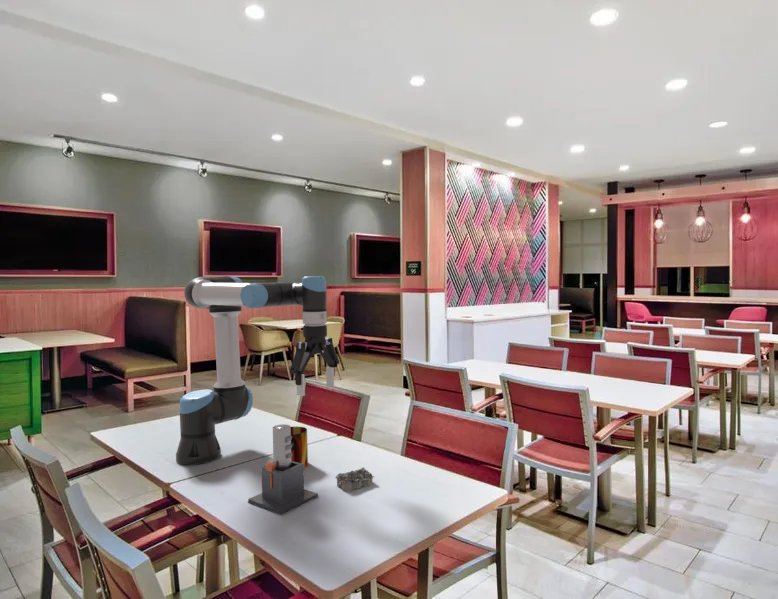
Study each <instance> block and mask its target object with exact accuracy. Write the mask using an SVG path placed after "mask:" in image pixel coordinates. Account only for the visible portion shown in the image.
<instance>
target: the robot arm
mask: <svg viewBox="0 0 778 599" xmlns="http://www.w3.org/2000/svg"><path fill="white" fill-rule="evenodd" d="M327 288H328V287H327V281H326V277H325V276H322V275H317V276H315V275H309V276H308V275H307V276H303V277H302V279H301V281H300V282H299V281H298V282H297V281H283V282H244V281H243V280H242V279H240V278H239V277H238V276H237V277H236V276H229V275H228V276H227V275H226V276H224V275H223V276H199V277H196V278H193V279H191V280H190V281H188V283H187V284H186V286H185V287H184V292H183V293H184V299H185V301H186V303H187V304H189V306H191V307H193V308H194V309H201V310H203V309H204V310H205V309H207V310H208V313H209V315H211V316H212V317H213V324H214V325H213V326H214V329H213V330H214V341H215V342H214V345H215V346H214V347H215V348H214V349H215V362H216V382H215V383H214V384H213V386H212V387H213V390H212V389H208V388H207V389H197V390H192V391H190V392H188V393H186V394H184V395H182V397H180V400H179V408H178V412H179V426H180V429H179V430H180V440H179V442H178V447H177V450H176V453H175V461H176V462H177V463H178V464H181V465H185V466H186V465H188V466H190V465H191V466H192V465H193V466H194V465H200V464H207V463H211V462H213V461H215V460H218V459H219V458H220V457H221V456H222V448H221V445H220V443H219V440H218V438H217V434H216V425H219V424H222V423H226V422H230V421H235V420H239V419H240V418H243V417H246V416H247V415H248V414H249V413H250V412H251V410H252V407H253V404H254V397H253V393H252V392H251V389H250V388H249V387H248V386H247V385H246V382H245V381H244V380H243V379H242V376H241V375H242V374H241V357H240V356H241V355H240V351H241V350H240V335H239V317H238V316H239V315H240V314H241V313H242V311H243V310H242V307H246V308H247V309H259V308H270V307H284V306H285V307H286V306H302V324H303V326H302V336H303V338H304V342H303V341H297V344H296V351H295V354H294V356H293V360H292V363H291V366H290V369H289V373H290V374H292V375H295V376H294V378H295V379H294V382H295V385H296V395H297V396H301V397H305V396H306V389H305V388H306V387H305V384H306V383H305V374H303V373H304V371H305V369H306V367H307V366H308V364H309V362H310V359H311V358H312V357H313V356H314V355H317V354H318V355H319V354H320V355H319V356H321V358H322V359H323V360H324V362H325V363H326V365H327V366H326V367H325V369H326V371H325V373H326V375H325V376H326V378H325V380H326V383H325V384H326V387H327V388H335V375H336V372H335V369H336V368H337V367H338V365H339V364H340V360H339V358H338V354H337V351H336V349H335V347H334V343H333V338H332V337H328V327H327V290H328V289H327Z"/></svg>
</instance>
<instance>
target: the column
mask: <svg viewBox="0 0 778 599" xmlns="http://www.w3.org/2000/svg"><path fill="white" fill-rule="evenodd" d="M290 427H291V425H289V424H276V425H274V426H272V445H273V446H272V449H273V452H272V454H273V462H274V463H275V470H279V471H284V470H287V469H289V468H291V457H292V453H291V448H292V444H291V440H292V436H291V429H290Z"/></svg>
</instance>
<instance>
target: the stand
mask: <svg viewBox="0 0 778 599" xmlns="http://www.w3.org/2000/svg"><path fill="white" fill-rule="evenodd" d="M304 470H305V468H304V464H301V463H298V462H294V461H291V468H289V469H287V470H284V471H279V470H275V463H274V461H273V462H271V461H269V462H266V463H265V465H263V466H261V493H259V494H257V495H254V496H252V497H250V498H248V499H247V500H248V503H249V504H251V505H253V506H256V507H259V508H261V509H265V510H267V511H270V512H272V513H274V514H277V515H280V516H282V515H285V514H287V513H288V512H291V511H294V510H296V509H297V508H299V507H301V506H303V505H305V504H307V503H309V502H310V501H313V500H316V499H317V498H318V497H319V493H318V492H314V491H311V490H308V489H305V472H304Z"/></svg>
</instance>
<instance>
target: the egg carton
mask: <svg viewBox="0 0 778 599" xmlns="http://www.w3.org/2000/svg"><path fill="white" fill-rule="evenodd" d="M373 478H375V475H372V473H371V472H369V470H367V469H366V468H365V467H361V468H358V469H356V470H354V471H353V470H351V471H347V472H344V473H343V472H341V473H338V474H337V475H336V476H335V479H336V487H337V488H341V489H342V490H341V491H343V492H351V491H353V489H362V487H364V486H365V487H366V486H367V487H370V486H372V484H373Z"/></svg>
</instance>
